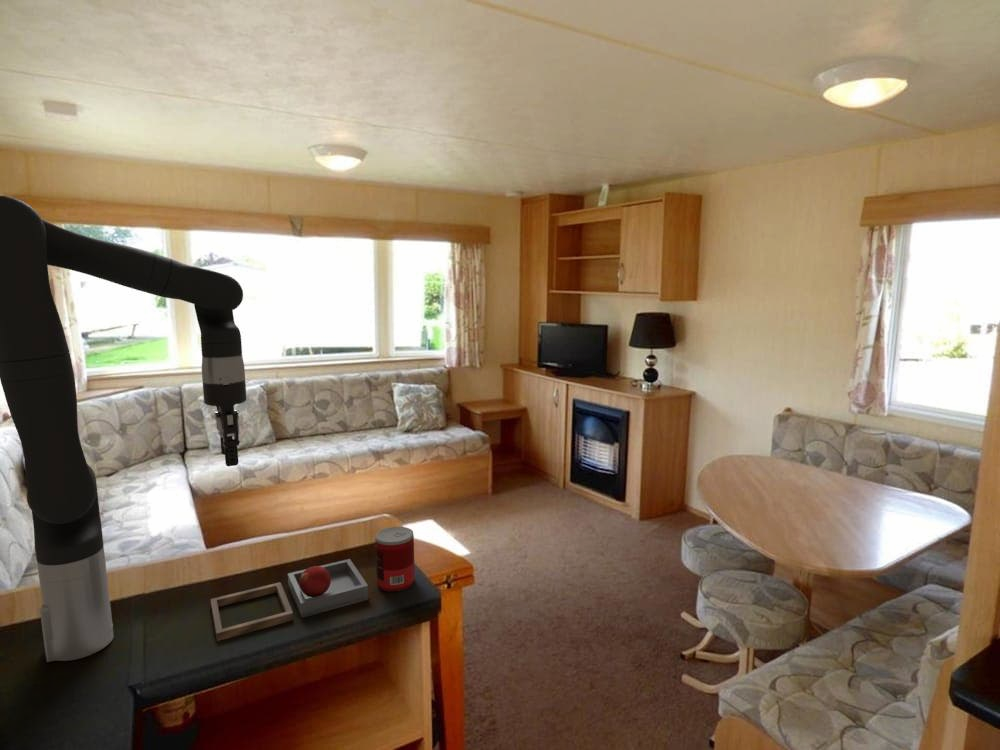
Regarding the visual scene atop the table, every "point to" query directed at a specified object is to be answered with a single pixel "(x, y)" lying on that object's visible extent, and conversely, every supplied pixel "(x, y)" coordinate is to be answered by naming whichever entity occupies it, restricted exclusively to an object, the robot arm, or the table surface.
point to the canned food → (394, 558)
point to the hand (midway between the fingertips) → (229, 459)
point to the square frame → (254, 624)
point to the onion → (315, 581)
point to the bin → (331, 589)
